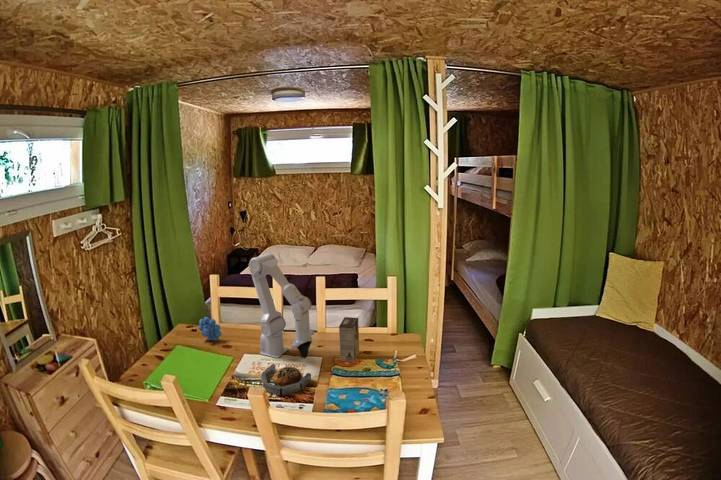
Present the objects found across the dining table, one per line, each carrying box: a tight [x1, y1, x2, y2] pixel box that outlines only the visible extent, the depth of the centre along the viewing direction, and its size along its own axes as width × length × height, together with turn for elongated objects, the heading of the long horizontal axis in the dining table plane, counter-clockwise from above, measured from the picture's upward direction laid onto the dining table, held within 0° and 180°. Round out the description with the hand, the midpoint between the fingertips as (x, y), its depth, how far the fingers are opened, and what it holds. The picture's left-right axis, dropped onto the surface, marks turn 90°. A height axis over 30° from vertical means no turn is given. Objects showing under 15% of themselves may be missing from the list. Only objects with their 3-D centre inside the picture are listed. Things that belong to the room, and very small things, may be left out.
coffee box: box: [338, 316, 360, 363], centre depth 148 cm, size 9×6×16 cm
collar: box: [260, 364, 312, 396], centre depth 131 cm, size 18×12×2 cm
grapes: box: [198, 316, 223, 342], centre depth 163 cm, size 12×7×12 cm, turn 77°
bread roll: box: [272, 366, 302, 387], centre depth 134 cm, size 11×11×5 cm
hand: (304, 357), depth 145 cm, fingers closed
